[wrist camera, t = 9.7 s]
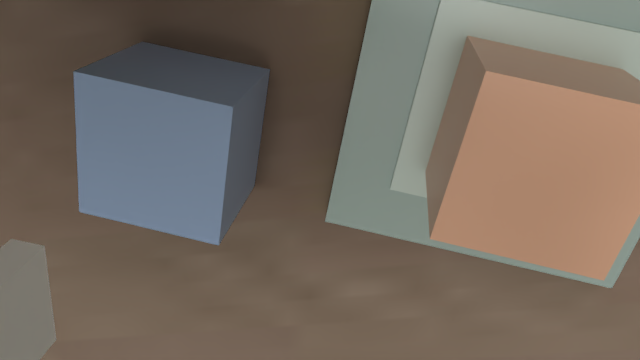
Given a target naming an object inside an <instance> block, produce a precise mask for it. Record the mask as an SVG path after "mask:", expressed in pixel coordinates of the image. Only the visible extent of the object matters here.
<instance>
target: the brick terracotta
mask: <svg viewBox="0 0 640 360" xmlns="http://www.w3.org/2000/svg"><path fill="white" fill-rule="evenodd" d="M425 174H426V189H427V205H428V220H429V235H430V239H432V240H436V241H440V242H444V243H448V244H453V245H457V246H461V247H465V248H469V249H473V250H478V251H482V252H486V253H490V254H494V255H498V256H503V257H507V258H511V259H515V260H519V261H524V262H528V263H532V264H536V265H540V266H544V267H549V268H553V269H557V270H561V271H565V272H570V273H574V274H578V275H582V276H586V277H590V278H595V279H599V280H603V281H604V280H605V278H606V276H607V274H608V272H609V271H610V269H611V267H612V265H613V263H614V261H615V259H616V258H617V256H618V254H619V252H620V250H621V248H622V247H623V245H624V243H625V241H626V239H627V237H628V235H629V234H630V232H631V230H632V228H633V226H634V224H635V223H636V221H637V219H638V217H639V215H640V80H638V79H637V78H635V77H634V76H632V75H631V74H629V73H628V72H626V71H625V70H623V69H620V68H615V67H610V66H606V65H601V64H597V63H592V62H587V61H583V60H578V59H574V58H569V57H564V56H560V55H555V54H550V53H546V52H541V51H537V50H532V49H527V48H523V47H518V46H514V45H509V44H504V43H500V42H495V41H491V40H486V39H481V38H477V37H472V36H467V38H466V42H465V45H464V48H463V51H462V55H461V58H460V61H459V64H458V68H457V71H456V74H455V77H454V81H453V84H452V87H451V90H450V93H449V97H448V100H447V103H446V106H445V110H444V113H443V116H442V119H441V123H440V126H439V129H438V132H437V136H436V139H435V142H434V145H433V149H432V152H431V155H430V158H429V162H428V165H427V168H426V171H425Z"/></svg>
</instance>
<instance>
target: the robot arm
mask: <svg viewBox="0 0 640 360" xmlns="http://www.w3.org/2000/svg"><path fill="white" fill-rule="evenodd" d="M55 340H56V334H55V326H54V318H53V310H52V302H51V293H50V285H49V277H48V269H47V261H46V253H45V246H43V245H38V244H33V243H29V242H24V241H19V240H14V239H10V240H9V241H8V242H7V243H5V244H4V245H3V246H2V247H1V248H0V360H40V359H41V358H42V356H43V355H44V354H45V353H46V351H47V350H48V349H49V348H50V347H51V345H52V344H53V343H54V342H55Z"/></svg>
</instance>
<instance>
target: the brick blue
mask: <svg viewBox="0 0 640 360" xmlns="http://www.w3.org/2000/svg"><path fill="white" fill-rule="evenodd" d="M73 73H74V97H75V121H76V146H77V170H78V194H79V212H82V213H86V214H90V215H94V216H98V217H103V218H107V219H111V220H115V221H119V222H123V223H128V224H132V225H136V226H140V227H144V228H148V229H153V230H157V231H161V232H165V233H169V234H173V235H178V236H182V237H186V238H190V239H194V240H198V241H203V242H207V243H211V244H215V245H219V244H220V243H221V241H222V239H223V238H224V236H225V234H226V233H227V231H228V229H229V228H230V226H231V224H232V223H233V221H234V219H235V218H236V216H237V214H238V213H239V211H240V209H241V208H242V206H243V204H244V203H245V201H246V199H247V198H248V196H249V194H250V193H251V191H252V189H253V188H254V186H255V178H256V171H257V164H258V156H259V149H260V141H261V134H262V126H263V119H264V111H265V104H266V96H267V89H268V81H269V74H270V69H266V68H261V67H257V66H252V65H247V64H243V63H238V62H234V61H229V60H225V59H220V58H215V57H211V56H206V55H202V54H197V53H192V52H188V51H183V50H179V49H174V48H169V47H165V46H160V45H156V44H151V43H146V42H140V43H138V44H136V45H133V46H131V47H129V48H126V49H124V50H122V51H119V52H117V53H115V54H112V55H110V56H108V57H106V58H103V59H101V60H99V61H96V62H94V63H92V64H89V65H87V66H85V67H82V68H80V69H78V70H75V71H73Z"/></svg>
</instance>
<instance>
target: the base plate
mask: <svg viewBox="0 0 640 360" xmlns="http://www.w3.org/2000/svg"><path fill="white" fill-rule="evenodd" d="M467 36H472V37H477V38H481V39H486V40H491V41H495V42H500V43H504V44H509V45H514V46H518V47H523V48H527V49H532V50H537V51H541V52H546V53H550V54H555V55H560V56H564V57H569V58H574V59H578V60H583V61H587V62H592V63H597V64H601V65H606V66H610V67H615V68H620V69H623V70H625V71H626V72H628V73H629V74H631V75H632V76H634V77H635V78H637V79H638V80H640V0H372V2H371V7H370V11H369V16H368V21H367V26H366V30H365V35H364V40H363V45H362V49H361V54H360V59H359V63H358V68H357V73H356V78H355V82H354V87H353V92H352V97H351V101H350V106H349V111H348V115H347V120H346V125H345V130H344V134H343V139H342V144H341V149H340V153H339V158H338V163H337V167H336V172H335V177H334V182H333V186H332V191H331V196H330V200H329V205H328V210H327V215H326V219H325V222H330V223H334V224H338V225H343V226H347V227H351V228H355V229H360V230H364V231H368V232H373V233H377V234H381V235H385V236H390V237H394V238H398V239H402V240H407V241H411V242H415V243H420V244H424V245H428V246H432V247H437V248H441V249H445V250H450V251H454V252H458V253H462V254H467V255H471V256H475V257H480V258H484V259H488V260H492V261H497V262H501V263H505V264H510V265H514V266H518V267H522V268H527V269H531V270H535V271H540V272H544V273H548V274H552V275H557V276H561V277H565V278H569V279H574V280H578V281H582V282H587V283H591V284H595V285H599V286H604V287H608V288H612V287H613V285H614V283H615V282H616V280H617V278H618V276H619V274H620V272H621V271H622V269H623V267H624V265H625V263H626V261H627V260H628V258H629V256H630V254H631V252H632V250H633V249H634V247H635V245H636V243H637V241H638V239H639V238H640V215H639V217H638V219H637V221H636V223H635V224H634V226H633V228H632V230H631V232H630V234H629V235H628V237H627V239H626V241H625V243H624V245H623V247H622V248H621V250H620V252H619V254H618V256H617V258H616V259H615V261H614V263H613V265H612V267H611V269H610V271H609V272H608V274H607V276H606V278H605V280H604V281H603V280H599V279H595V278H590V277H586V276H582V275H578V274H574V273H570V272H565V271H561V270H557V269H553V268H549V267H544V266H540V265H536V264H532V263H528V262H524V261H519V260H515V259H511V258H507V257H503V256H498V255H494V254H490V253H486V252H482V251H478V250H473V249H469V248H465V247H461V246H457V245H453V244H448V243H444V242H440V241H436V240H432V239H430V235H429V220H428V205H427V189H426V174H425V171H426V168H427V165H428V162H429V158H430V155H431V152H432V149H433V145H434V142H435V139H436V136H437V132H438V129H439V126H440V123H441V119H442V116H443V113H444V110H445V106H446V103H447V100H448V97H449V93H450V90H451V87H452V84H453V81H454V77H455V74H456V71H457V68H458V64H459V61H460V58H461V55H462V51H463V48H464V45H465V42H466V38H467Z"/></svg>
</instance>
